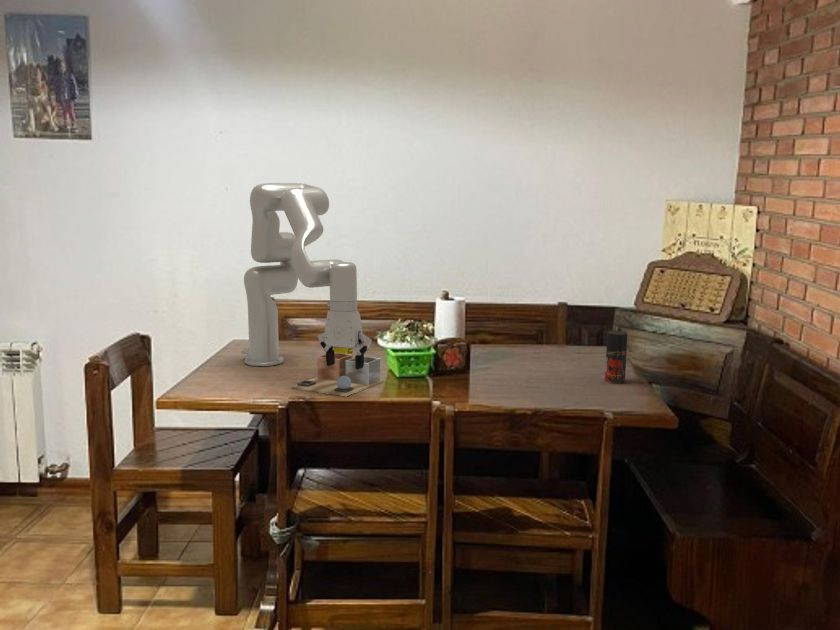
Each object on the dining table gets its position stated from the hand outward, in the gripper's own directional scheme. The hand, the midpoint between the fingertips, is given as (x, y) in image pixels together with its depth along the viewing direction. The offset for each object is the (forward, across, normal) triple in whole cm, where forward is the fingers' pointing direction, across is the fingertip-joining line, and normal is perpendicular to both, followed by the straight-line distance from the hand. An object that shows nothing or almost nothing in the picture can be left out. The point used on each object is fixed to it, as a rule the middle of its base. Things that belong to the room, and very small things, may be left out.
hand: (345, 366), depth 229 cm
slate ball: (+5, -1, 0) cm, 5 cm away
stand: (+7, -7, +6) cm, 12 cm away
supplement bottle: (+7, -20, +28) cm, 35 cm away
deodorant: (+9, +63, +51) cm, 82 cm away
